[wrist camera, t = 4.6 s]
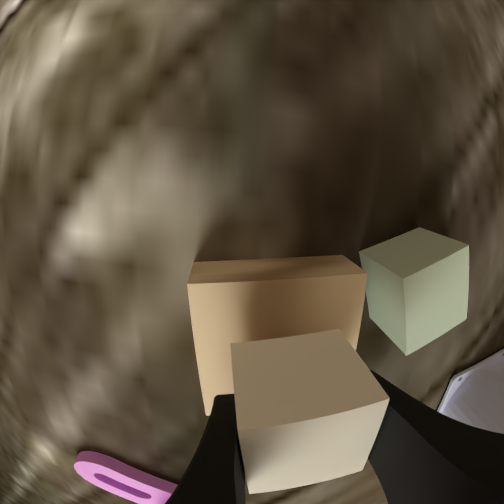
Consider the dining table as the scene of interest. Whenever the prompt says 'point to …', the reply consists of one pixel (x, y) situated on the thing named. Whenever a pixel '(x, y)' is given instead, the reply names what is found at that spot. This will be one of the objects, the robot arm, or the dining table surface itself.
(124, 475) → the bracket
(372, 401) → the cream cube
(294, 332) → the oak slab
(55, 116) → the dining table surface
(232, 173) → the dining table surface
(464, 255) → the sage cube
